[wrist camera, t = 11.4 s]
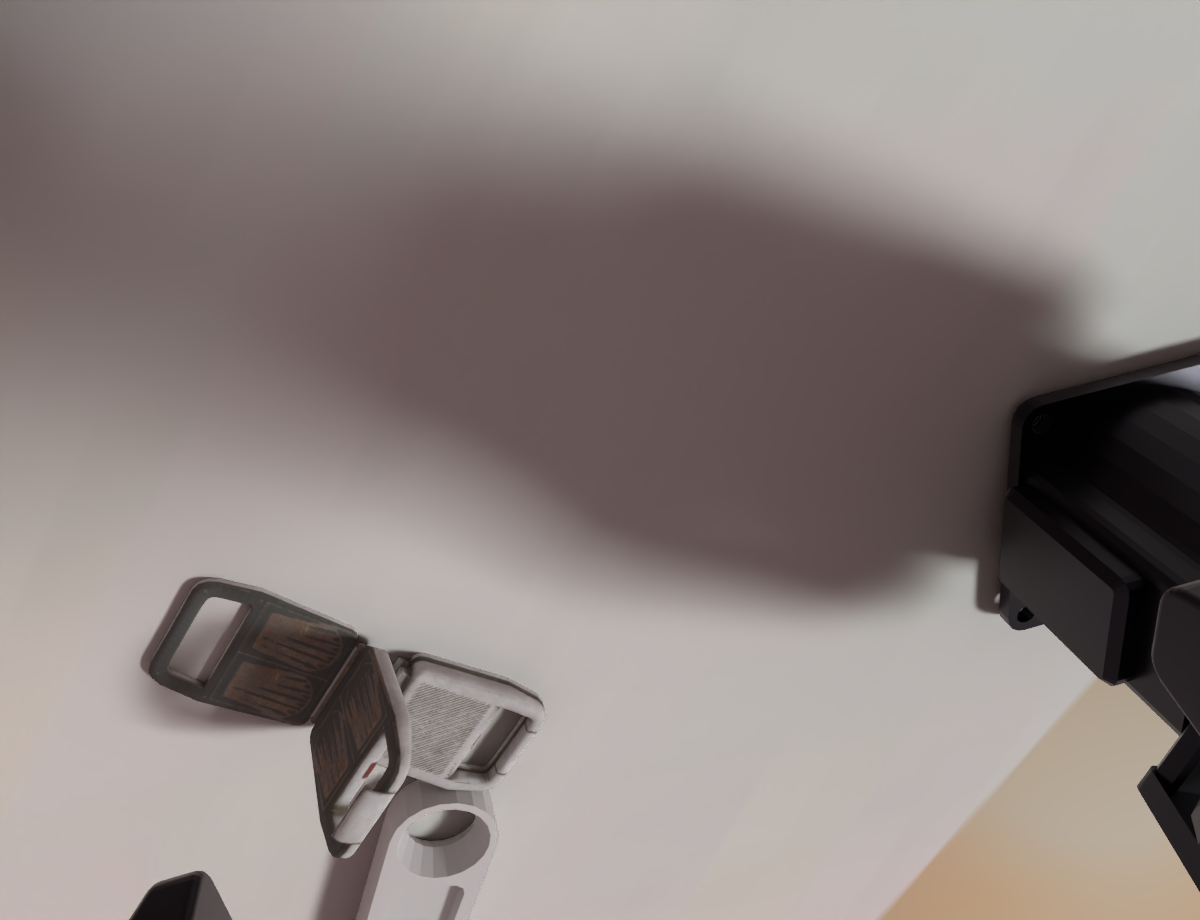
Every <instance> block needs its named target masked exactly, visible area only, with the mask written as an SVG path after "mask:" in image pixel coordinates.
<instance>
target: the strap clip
mask: <svg viewBox="0 0 1200 920" xmlns="http://www.w3.org/2000/svg"><path fill="white" fill-rule="evenodd" d="M210 597H219V598H223V599H228V600H232V601H236V602H240V603H244V604H248V605H252V606H251V607H250V609H249V611H248V612H247V614H246V616H245V617H244V619H243V621H242V623H241V624H240V626H239V628H238V629H237V631H236V633H235V634H234V636H233V638H232V639H231V641H230V643H229V644H228V646H227V648H226V649H225V651H224V653H223V654H222V656H221V658H220V659H219V661H218V663H217V665H216V666H215V668H214V670H213V671H212V673H211V675H210V676H209V678H208V680H207V681H206V683H203V682H201V681H199V680H196V679H194V678H191V677H189V676H187V675H184V674H182V673H180V672H177V671H175V670H173V669H171V668H170V667H169V662H170V660H171V658H172V656H173V655H174V653H175V651H176V650H177V648H178V646H179V644H180V643H181V641H182V639H183V637H184V636H185V634H186V632H187V630H188V629H189V627H190V625H191V624H192V622H193V620H194V618H195V617H196V615H197V613H198V611H199V610H200V608H201V607H202V605H203V604H204V602H205V601H206V600H207V599H208V598H210ZM365 646H366V644H363V643H360V642H358V632H357V629H355V628H354V627H353V626H351V625H348V624H346V623H344V622H341V621H339V620H336V619H334V618H332V617H329V616H327V615H325V614H322V613H320V612H318V611H315V610H313V609H310V608H308V607H306V606H303V605H301V604H299V603H296V602H294V601H292V600H289V599H287V598H284V597H282V596H280V595H277V594H275V593H273V592H270V591H268V590H266V589H263V588H260V587H256V586H251V585H247V584H242V583H238V582H234V581H229V580H225V579H221V578H206V579H203V580H200V581H198V582H197V583H196V584H195V585H194V586H193V587H192V588H191V590H190V592H189V594H188V595H187V597H186V599H185V601H184V602H183V604H182V606H181V608H180V609H179V611H178V613H177V615H176V616H175V618H174V620H173V622H172V623H171V625H170V627H169V629H168V630H167V632H166V634H165V636H164V638H163V639H162V641H161V643H160V645H159V646H158V648H157V650H156V652H155V653H154V655H153V657H152V659H151V662H150V667H149V674H150V675H151V677H152V678H153V679H154V680H155V681H156V682H158V683H159V684H160V685H162V686H165V687H167V688H169V689H171V690H174V691H176V692H178V693H181V694H183V695H185V696H187V697H190V698H192V699H194V700H196V701H200V702H204V703H208V704H212V705H216V706H220V707H224V708H228V709H232V710H236V711H240V712H244V713H248V714H252V715H256V716H260V717H263V718H267V719H271V720H275V721H279V722H283V723H287V724H291V725H301V724H304V723H306V722H307V721H308V720H309V718H312V720H311V722H312V723H316V724H315V725H314V727H313V729H312V731H311V735H310V744H311V752H312V760H313V768H314V776H315V784H316V791H317V799H318V807H319V815H320V822H321V826H322V829H323V832H324V836H325V839H326V843H327V846H328V849H329V852H330V853H331V855H332V856H333V857H337V858H348V857H351V856H352V855H353V854H354V853H355V851H356V850H357V848H358V847H359V846H360V844H361V843H362V841H363V840H364V838H365V837H366V836H367V834H368V833H369V831H370V830H371V828H372V827H373V825H374V824H375V823H376V821H377V820H378V818H379V817H380V815H381V814H382V812H383V811H384V810H385V808H386V807H387V805H388V804H389V802H390V801H391V800H392V798H393V797H394V795H395V794H396V792H397V791H398V789H399V788H400V787H401V785H402V784H403V782H404V780H405V778H406V776H410V777H413V778H416V779H419V780H421V781H424V782H427V783H430V784H433V785H435V786H438V787H441V788H444V789H447V790H466V791H483V790H489V789H491V788H494V787H495V786H497V785H498V784H499V783H500V782H501V780H502V779H503V778H504V776H505V775H506V774H507V772H508V771H509V770H510V768H511V767H512V765H513V764H514V763H515V761H516V760H517V759H518V757H519V756H520V755H521V753H522V752H523V750H524V749H525V748H526V746H527V745H528V744H529V742H530V741H531V740H532V738H533V737H534V735H535V734H536V733H537V731H538V730H539V729H540V727H541V726H542V724H543V722H544V720H545V717H546V713H545V709H544V706H543V703H542V699H541V698H540V697H539V696H538V694H537V693H535V692H534V691H532V690H530V689H528V688H526V687H524V686H522V685H521V684H519V683H517V682H515V681H513V680H511V679H509V678H507V677H504V676H500V675H497V674H494V673H490V672H487V671H484V670H480V669H477V668H474V667H470V666H467V665H463V664H460V663H457V662H453V661H450V660H447V659H443V658H440V657H437V656H433V655H430V654H426V653H417V654H414V655H413V656H412V657H411V658H410V659H409V660H406V659H404V658H401V657H399V658H398V659H397V661H396V662H395V664H394V665H393V666H392V663H391V660H390V657H389V654H388V653H387V652H386V651H384V650H382V649H378V648H374V647H370V646H366V647H365ZM500 707H501V708H504V709H507V710H510V711H513V712H515V713H518V714H521V715H523V716H522V717H521V719H520V720H519V721H518V723H517V724H516V725H515V727H514V728H513V730H512V731H511V732H510V734H509V735H508V737H507V738H506V739H505V741H504V742H503V744H502V745H501V746H500V748H499V749H498V750H497V752H496V753H495V755H494V756H493V757H492V758H491V760H490V761H489V762H488V763H487V764H486V765H483V766H477V765H472V764H466V763H461V762H462V761H463V759H464V758H465V756H466V755H467V753H468V752H469V751H470V749H471V748H472V746H473V745H474V744H475V742H476V741H477V739H478V738H479V737H480V735H481V734H482V732H483V731H484V730H485V728H486V727H487V725H488V724H489V723H490V721H491V720H492V718H493V717H494V716H495V714H496V713H497V711H498V710H499V709H500ZM376 764H377V765H380V766H382V767H385V768H387V769H386V771H385V773H384V775H383V776H382V778H381V780H380V781H379V782H378V784H377V785H376V787H375V788H374V790H372V789H370V788H369V786H368V785H365V787H364V788H363V790H362V791H361V793H360V794H359V795H358V797H357V798H356V800H355V801H354V803H353V804H352V806H351V807H350V809H349V803H350V802H351V800H352V799H353V798H354V796H355V795H356V793H357V792H358V790H359V789H360V787H361V786H362V784H363V783H364V781H365V780H366V778H367V777H368V775H369V774H370V772H371V771H372V770H373V768H374V767H375V765H376Z"/></svg>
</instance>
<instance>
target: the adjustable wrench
mask: <svg viewBox="0 0 1200 920" xmlns="http://www.w3.org/2000/svg"><path fill="white" fill-rule="evenodd" d="M455 809H456V810H462V811H468V812H471V813H473V814H475V819H474V821H473V823H472V824H471V825H470V826H469V827H468V828H467V829H466V830H465V831H463V832H461V833H460V834H458V835H456V836H454V837H451V838H448V839H444V840H437V841H428V840H421V839H418V838H416V837H414V836H412V835H410V834H409V833H408V831H407V828H408V827H409V826H410V825H411V824H412V823H413V822H415V821H417V820H418V819H420V818H422V817H424V816H425V815H428V814H431V813H434V812H438V811H441V810H455ZM498 836H499V832H498V828H497V823H496V818H495V813H494V808H493V803H492V800H491V796H490V793H489V791H488V790H483V791H466V790H447V789H444V788H441V787H438V786H435V785H433V784H430V783H427V782H424V781H421V780H419V779H417V780H415V781H414V782H412V783H410V784H408V785H406V786H405V787H404V788H403V789H402V790H401V791H399V792H398V793H397V794H396V795H395V796H394V797H393V799H392V801H391V803H390V805H389V807H388V809H387V811H386V815H385V818H384V822H383V825H382V829H381V832H380V836H379V839H378V843H377V846H376V850H375V853H374V857H373V860H372V864H371V867H370V871H369V874H368V877H367V881H366V884H365V888H364V891H363V895H362V898H361V902H360V905H359V909H358V912H357V916H356V919H355V920H468V919H469V917H470V914H471V912H472V909H473V907H474V904H475V901H476V899H477V896H478V894H479V891H480V889H481V886H482V883H483V881H484V878H485V876H486V873H487V870H488V868H489V865H490V863H491V860H492V858H493V855H494V852H495V850H496V847H497V842H498Z"/></svg>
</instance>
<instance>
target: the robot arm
mask: <svg viewBox="0 0 1200 920" xmlns="http://www.w3.org/2000/svg"><path fill="white" fill-rule="evenodd" d="M1040 415H1041V418H1040V420H1039V421H1038V422H1037V423H1036V424H1035V425H1033V426H1032V424H1033V421H1034V420H1035V419H1036V418H1037V417H1038V416H1040ZM999 579H1000V581H1001V590H1000V606H999V612H1000V616H1001V617H1002V618H1003V619H1004V620H1005V621H1006V622H1007V623H1008V624H1009V625H1010V627H1011V628H1012V629H1015V630H1025V629H1029V628H1032V627H1036V626H1039V625H1043V624H1044V625H1045V626H1046V627H1047V628H1048V629H1049V630H1050V631H1051V632H1052V633H1053V634H1054V635H1055V636H1056V637H1057V638H1058V639H1059V640H1061V641H1062V642H1063V643H1064V644H1065V645H1066V646H1067V647H1068V648H1069V649H1070V650H1071V651H1072V652H1073V653H1074V654H1075V655H1076V656H1077V657H1078V658H1079V659H1080V660H1081V661H1082V662H1083V663H1084V664H1085V665H1086V666H1087V667H1088V668H1089V669H1090V670H1091V671H1092V672H1093V673H1094V674H1095V675H1096V676H1097V677H1098V678H1099V679H1101V680H1102V681H1104V682H1105V683H1107V684H1109V685H1110V686H1115V685H1118V684H1121V683H1125V684H1126V685H1127V686H1128V687H1129V688H1130V689H1131V690H1132V691H1133V692H1134V693H1136V695H1138V696H1139V697H1140V698H1141V699H1142V700H1143V701H1144V702H1145V703H1146V704H1147V705H1148V706H1149V707H1150V708H1151V709H1152V710H1153V711H1154V712H1155V713H1156V714H1157V715H1158V716H1159V717H1160V718H1161V719H1162V720H1164V721H1165V722H1166V723H1167V724H1168V725H1169V726H1170V727H1171V728H1172V729H1173V730H1174V731H1175V732H1176V733H1177V734H1178V735H1179V738H1178V739H1177V741H1176V742H1175V743H1174V745H1173V746H1172V747H1171V749H1170V750H1169V752H1168V753H1167V754H1166V756H1165V757H1164V758H1163V760H1162V761H1161V762H1160V764H1159V765H1158V766H1151V768H1150V769H1149V770H1148V772H1147V773H1146V775H1145V776H1144V777H1143V779H1142V780H1141V781H1140V783H1139V784H1138V786H1137V787H1138V790H1139V791H1140V793H1141V795H1142V797H1143V798H1144V800H1145V802H1146V803H1147V805H1148V807H1149V808H1150V810H1151V812H1152V813H1153V815H1154V816H1155V818H1156V820H1157V822H1158V823H1159V825H1160V827H1161V828H1162V830H1163V832H1164V833H1165V835H1166V836H1167V838H1168V840H1169V842H1170V843H1171V845H1172V847H1173V848H1174V850H1175V851H1176V853H1177V855H1178V856H1179V858H1180V860H1181V861H1182V863H1183V865H1184V866H1185V868H1186V870H1187V871H1188V873H1189V875H1190V876H1191V878H1192V880H1193V881H1194V883H1195V885H1196V886H1197V888H1198V890H1199V891H1200V355H1197V356H1193V357H1189V358H1185V359H1181V360H1178V361H1174V362H1170V363H1166V364H1162V365H1158V366H1154V367H1150V368H1146V369H1142V370H1138V371H1135V372H1131V373H1127V374H1123V375H1119V376H1115V377H1111V378H1107V379H1103V380H1099V381H1095V382H1091V383H1088V384H1084V385H1080V386H1076V387H1072V388H1068V389H1064V390H1060V391H1056V392H1052V393H1048V394H1045V395H1041V396H1037V397H1033V398H1031V399H1028V400H1026V401H1025V402H1023V403H1022V404H1021V405H1020V406H1019V407H1018V408H1017V410H1016V411H1015V413H1014V415H1013V419H1012V425H1011V440H1010V455H1009V470H1008V485H1007V494H1006V496H1005V499H1004V508H1003V524H1002V539H1001V555H1000V570H999ZM1022 608H1023V609H1022ZM1021 609H1022V610H1021ZM1020 610H1021V611H1020ZM129 920H232V918H231V916H230V914H229V912H228V910H227V909H226V907H225V905H224V903H223V901H222V899H221V897H220V895H219V893H218V891H217V889H216V887H215V885H214V883H213V881H212V880H211V878H210V877H209V876H208V875H207V874H206V873H205V872H203V871H194V872H191V873H187V874H184V875H180V876H177V877H174V878H170V879H167V880H163V881H160V882H158V883H156V884H155V885H154V886H153V887H152V888H150V889H149V891H148V892H147V893H146V895H145V896H144V898H143V899H142V901H141V902H140V904H139V905H138V907H137V909H136V910H135V912H134V913H133V915H132V916H131V918H130V919H129Z"/></svg>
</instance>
